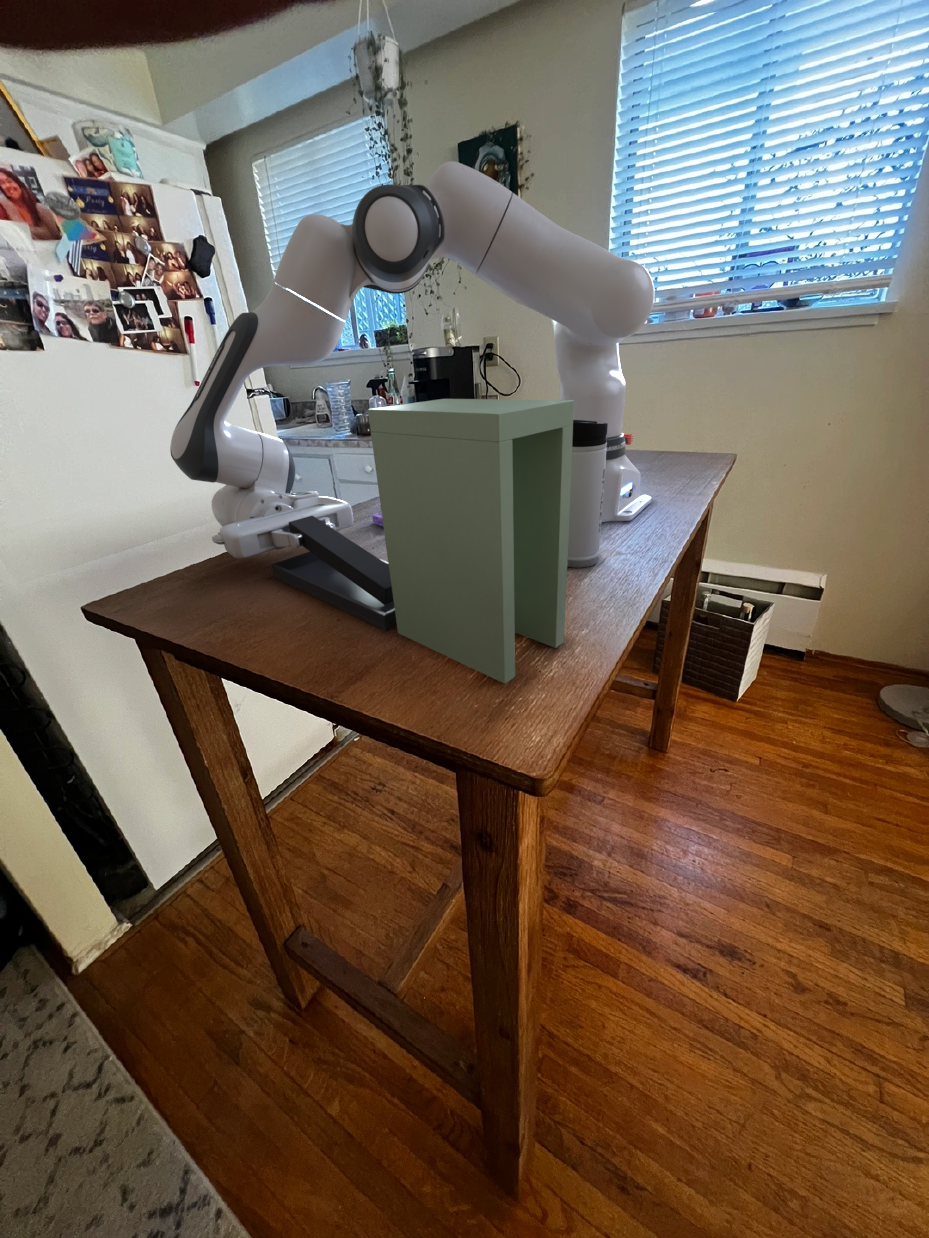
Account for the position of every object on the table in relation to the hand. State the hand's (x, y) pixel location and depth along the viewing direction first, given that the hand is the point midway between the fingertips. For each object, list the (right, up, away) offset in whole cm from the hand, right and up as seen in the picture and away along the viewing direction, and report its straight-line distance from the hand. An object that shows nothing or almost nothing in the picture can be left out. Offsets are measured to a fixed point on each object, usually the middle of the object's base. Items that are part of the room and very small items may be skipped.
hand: (317, 536), depth 73 cm
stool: (+23, -14, -17) cm, 32 cm away
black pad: (+5, -4, -3) cm, 7 cm away
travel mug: (+38, -4, +2) cm, 38 cm away
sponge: (+11, +7, +26) cm, 29 cm away
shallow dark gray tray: (+6, -8, -2) cm, 10 cm away
